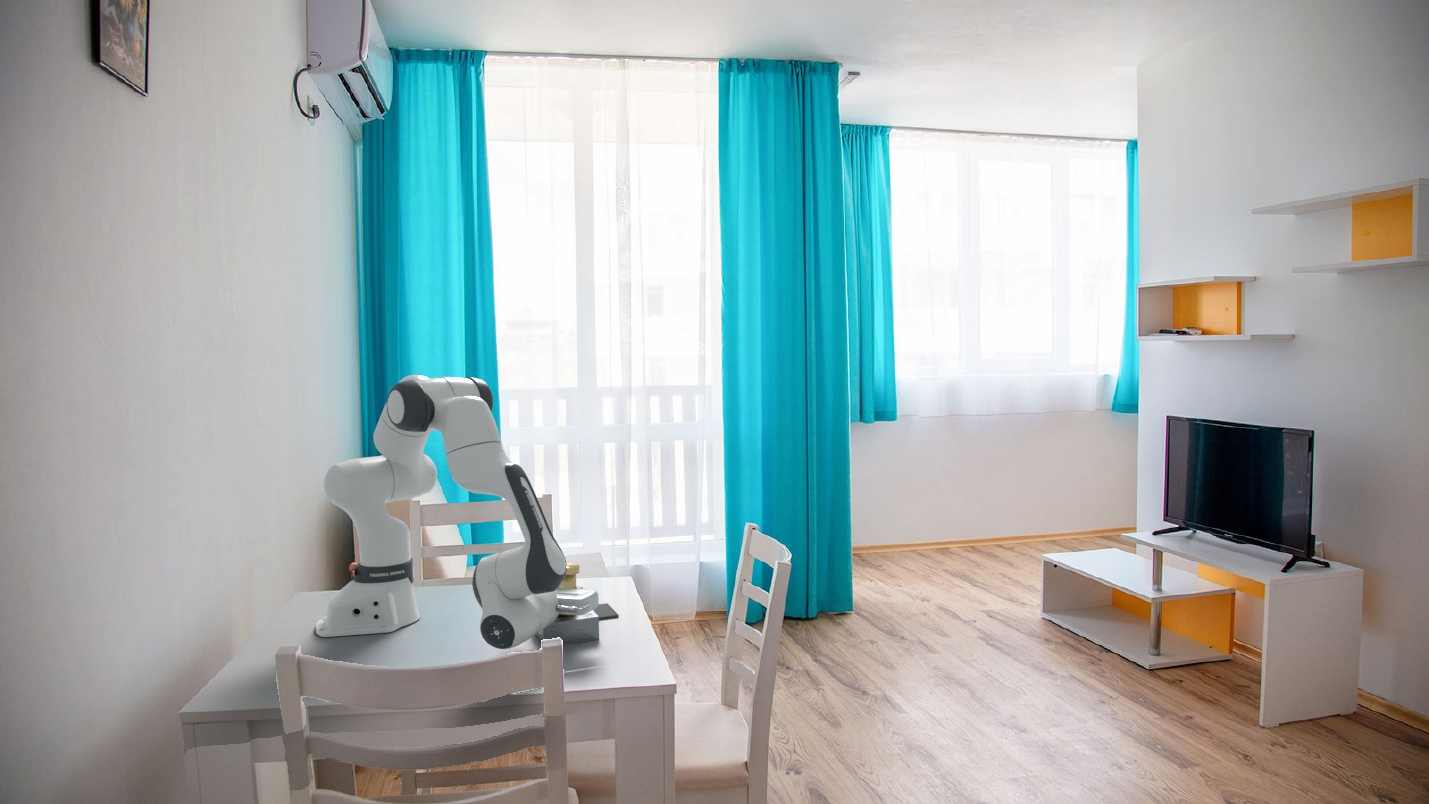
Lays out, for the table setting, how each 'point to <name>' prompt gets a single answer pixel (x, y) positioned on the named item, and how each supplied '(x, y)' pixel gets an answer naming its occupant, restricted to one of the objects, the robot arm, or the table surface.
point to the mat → (605, 611)
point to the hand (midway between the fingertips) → (566, 588)
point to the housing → (573, 628)
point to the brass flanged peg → (569, 580)
